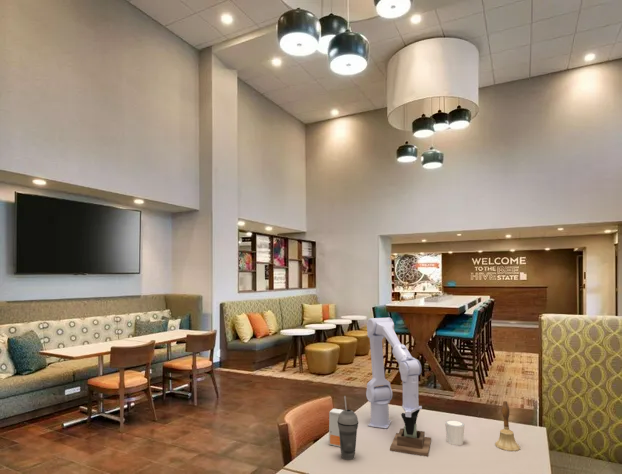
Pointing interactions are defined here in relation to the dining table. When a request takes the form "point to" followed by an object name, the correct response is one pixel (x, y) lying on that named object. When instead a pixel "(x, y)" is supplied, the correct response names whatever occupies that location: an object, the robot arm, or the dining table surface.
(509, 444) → the hand bell
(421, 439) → the well stand
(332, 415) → the skincare box
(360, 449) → the dining table surface
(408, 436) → the block
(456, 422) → the white ribbed cylinder
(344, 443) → the beverage cup
